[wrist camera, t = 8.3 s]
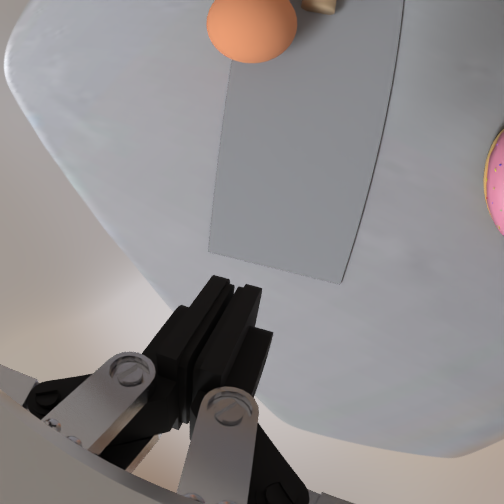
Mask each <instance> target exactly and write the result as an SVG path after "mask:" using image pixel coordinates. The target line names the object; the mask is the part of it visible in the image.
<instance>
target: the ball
mask: <svg viewBox="0 0 504 504" xmlns="http://www.w3.org/2000/svg"><path fill="white" fill-rule="evenodd" d="M207 31H208V35H209V38H210V40H211V42H212V43H213V45H214V46H215V47H216V48H217V49H218V50H219V51H220V52H221V53H222V54H223V55H225V56H226V57H228V58H230V59H232V60H235V61H238V62H242V63H261V62H266V61H269V60H271V59H274V58H276V57H277V56H279V55H280V54H282V53H283V52H284V51H285V50H286V49H287V48H288V47H289V46H290V44H291V43H292V41H293V39H294V37H295V34H296V31H297V17H296V13H295V10H294V8H293V6H292V4H291V3H290V1H289V0H215V1H214V3H213V4H212V6H211V8H210V10H209V13H208V16H207Z"/></svg>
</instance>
